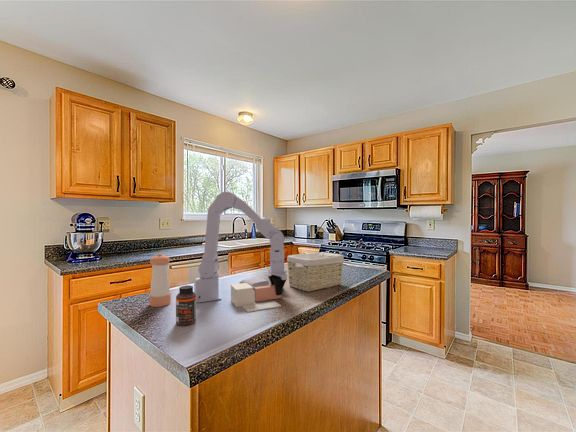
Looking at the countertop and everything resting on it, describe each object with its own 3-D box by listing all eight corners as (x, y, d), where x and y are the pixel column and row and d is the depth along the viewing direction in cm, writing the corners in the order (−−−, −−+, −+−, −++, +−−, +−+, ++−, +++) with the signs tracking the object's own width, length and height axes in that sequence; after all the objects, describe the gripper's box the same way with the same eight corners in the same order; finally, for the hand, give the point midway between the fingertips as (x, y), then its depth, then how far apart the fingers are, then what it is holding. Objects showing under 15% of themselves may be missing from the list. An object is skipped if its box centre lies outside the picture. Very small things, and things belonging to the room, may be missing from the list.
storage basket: (321, 279, 144) (321, 250, 144) (345, 285, 131) (345, 254, 131) (285, 286, 129) (285, 255, 129) (308, 294, 117) (308, 259, 116)
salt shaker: (164, 299, 110) (163, 251, 110) (174, 302, 106) (174, 253, 106) (145, 304, 104) (145, 254, 104) (156, 308, 100) (155, 255, 100)
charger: (250, 284, 134) (268, 290, 123) (233, 288, 128) (251, 294, 116) (249, 274, 134) (268, 280, 123) (233, 277, 128) (251, 283, 116)
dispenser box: (236, 307, 100) (236, 289, 100) (230, 300, 108) (230, 284, 108) (254, 304, 104) (254, 287, 103) (248, 298, 111) (248, 282, 111)
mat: (247, 312, 95) (247, 311, 95) (242, 307, 100) (242, 306, 100) (281, 306, 101) (281, 305, 101) (275, 302, 106) (275, 301, 106)
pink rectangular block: (255, 301, 107) (255, 288, 107) (253, 299, 109) (253, 287, 109) (281, 297, 111) (281, 285, 111) (279, 296, 114) (279, 284, 114)
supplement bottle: (176, 327, 82) (175, 290, 82) (175, 320, 88) (175, 285, 88) (197, 324, 85) (196, 288, 85) (195, 317, 90) (195, 283, 90)
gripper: (294, 262, 107) (294, 297, 107) (279, 257, 120) (279, 288, 120) (277, 264, 104) (277, 299, 104) (263, 258, 117) (264, 290, 117)
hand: (277, 293), depth 112 cm, fingers closed on pink rectangular block, 2 cm apart
